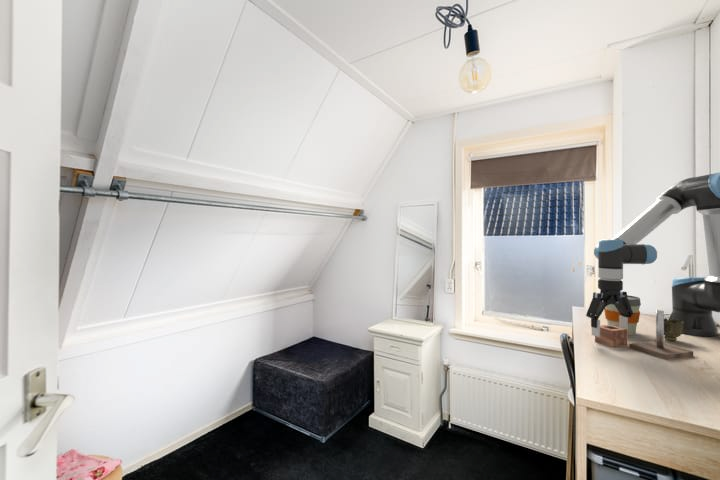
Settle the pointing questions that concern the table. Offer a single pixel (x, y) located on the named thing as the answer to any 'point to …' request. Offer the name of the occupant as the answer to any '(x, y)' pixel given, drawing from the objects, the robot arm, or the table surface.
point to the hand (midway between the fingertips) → (609, 334)
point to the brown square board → (661, 350)
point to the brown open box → (612, 336)
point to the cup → (672, 329)
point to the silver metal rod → (659, 329)
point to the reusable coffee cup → (614, 314)
